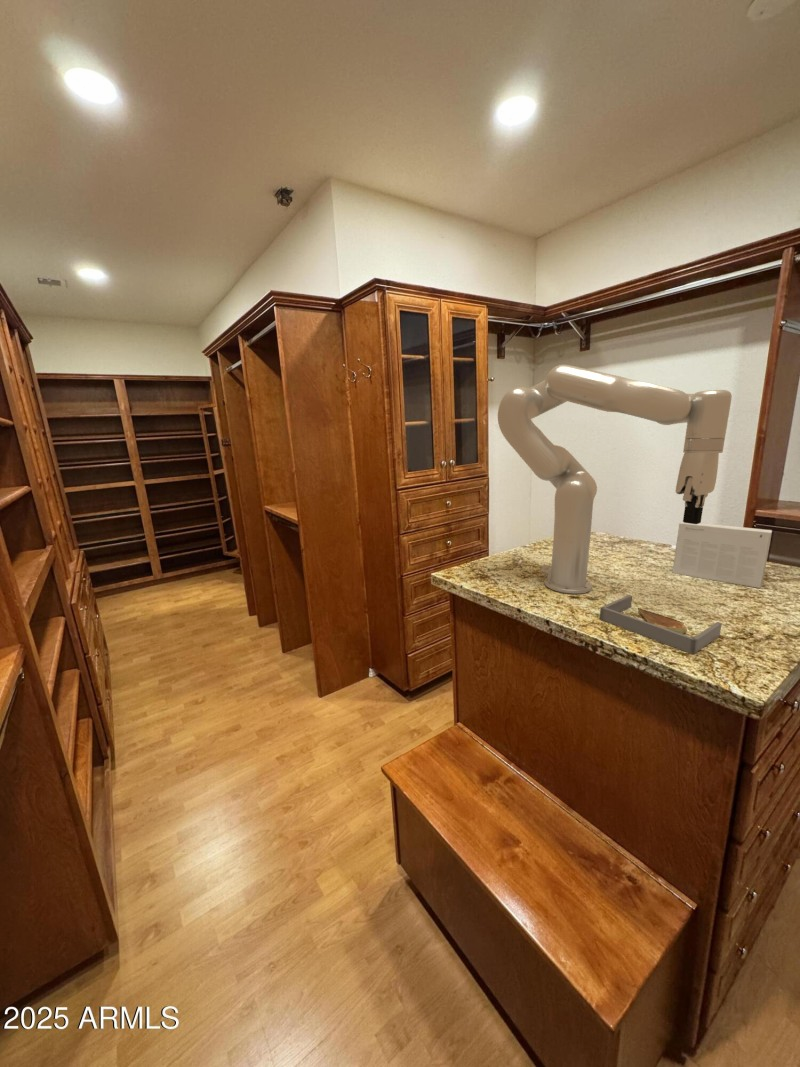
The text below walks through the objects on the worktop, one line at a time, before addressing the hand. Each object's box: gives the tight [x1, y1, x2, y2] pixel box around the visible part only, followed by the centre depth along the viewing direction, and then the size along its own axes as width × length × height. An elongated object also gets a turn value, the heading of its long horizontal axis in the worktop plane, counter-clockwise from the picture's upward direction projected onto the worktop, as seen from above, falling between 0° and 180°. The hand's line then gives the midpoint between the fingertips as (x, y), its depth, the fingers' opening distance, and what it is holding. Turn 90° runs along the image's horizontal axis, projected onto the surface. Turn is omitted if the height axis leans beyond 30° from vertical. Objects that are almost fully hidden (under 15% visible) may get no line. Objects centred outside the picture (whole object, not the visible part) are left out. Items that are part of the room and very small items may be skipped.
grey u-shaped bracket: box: [599, 594, 723, 655], centre depth 92 cm, size 20×13×3 cm, turn 34°
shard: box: [637, 607, 688, 635], centre depth 94 cm, size 11×8×2 cm
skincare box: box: [671, 520, 773, 589], centre depth 119 cm, size 21×5×16 cm, turn 47°
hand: (691, 522), depth 100 cm, fingers closed
